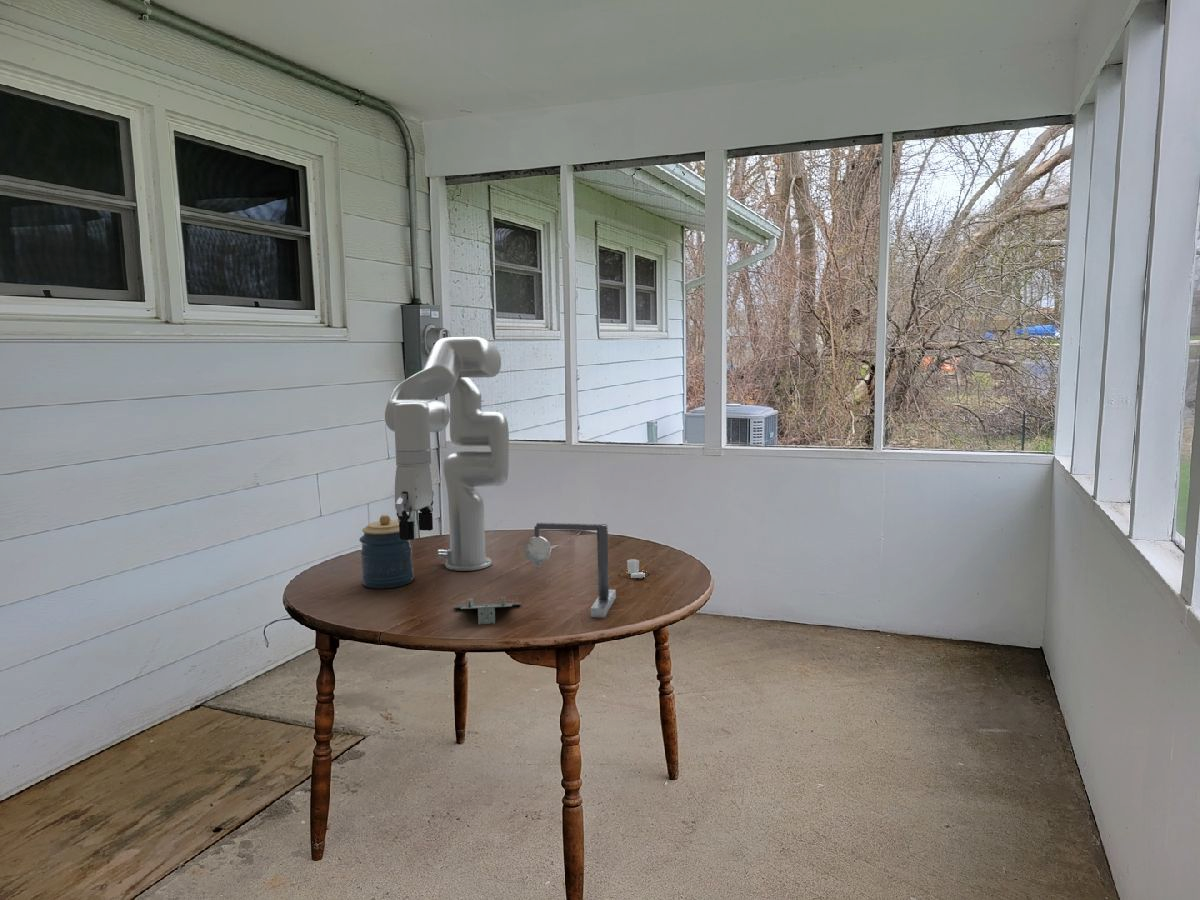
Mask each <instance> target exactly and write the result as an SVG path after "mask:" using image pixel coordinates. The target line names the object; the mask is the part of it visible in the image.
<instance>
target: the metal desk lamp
mask: <svg viewBox="0 0 1200 900" xmlns="http://www.w3.org/2000/svg"><path fill="white" fill-rule="evenodd" d="M608 526H609V525H608V524H605V523H604V524H603V523H600V524H599V523H565V522H564V523H559V522H537V523H536V525H534V536H532V537H530V538H529V539H528V540H527V541H526V542H525V544H524V549H523V550H524V555H525V557H526V559H528V560H529V561H530V562H532V563H535V564H536V569H541V563H543V562H545V561H546V560H548V558H549V557H550V556H551V553H552V544H551V542H550V541H549V539H548V538H546V537H544V536H542V535H541V530H556V531H557V530H558V531H559V530H561V531H562V530H563V531H567V530H568V531H596V539H597V540H596V542H597V545H596V546H597V550H596V551H597V589H598V590H597V591H598V592H597V593H598V594H597V598H596V599H595V601H594V603H593V604H592V606H591V607H590V617H591V618H600V619H601V618H603V619H604V618H605V617H606V616H607V614H608V612H609V610H610V609H611V607H612V606H613V603H614V602H615V600H616V599H617V595H616V593H617V591H616V589H610V585H609V584H610V583H609V581H610V578H609V538H608V536H609V533H608V532H609V531H608V530H609V529H608Z"/></svg>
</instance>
